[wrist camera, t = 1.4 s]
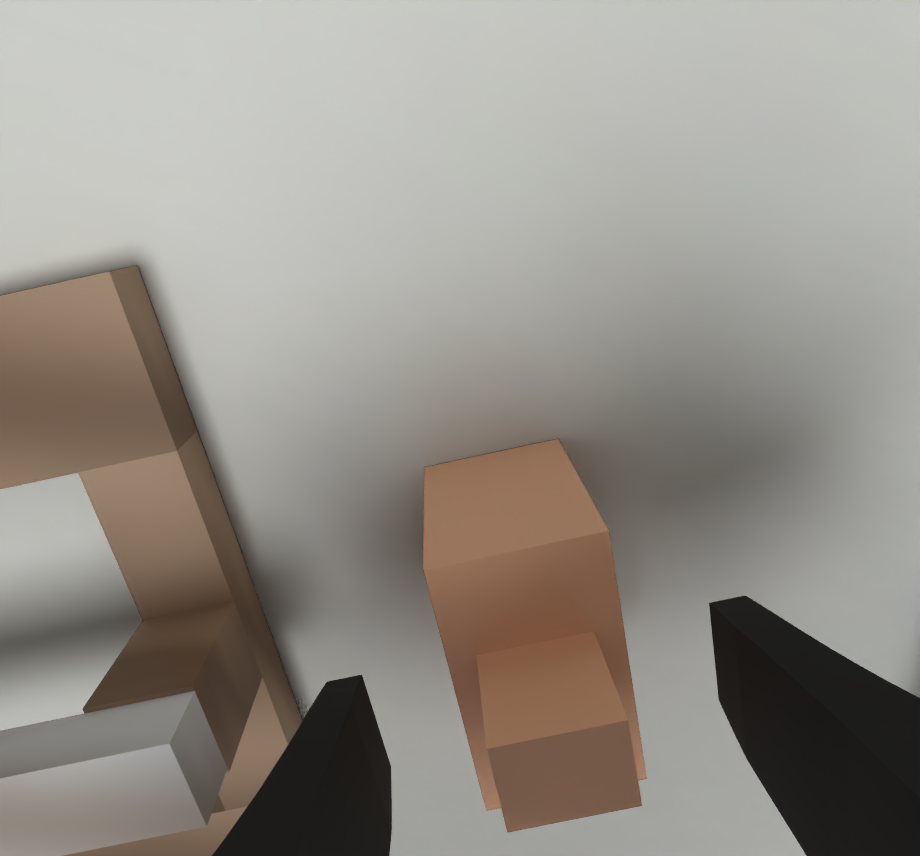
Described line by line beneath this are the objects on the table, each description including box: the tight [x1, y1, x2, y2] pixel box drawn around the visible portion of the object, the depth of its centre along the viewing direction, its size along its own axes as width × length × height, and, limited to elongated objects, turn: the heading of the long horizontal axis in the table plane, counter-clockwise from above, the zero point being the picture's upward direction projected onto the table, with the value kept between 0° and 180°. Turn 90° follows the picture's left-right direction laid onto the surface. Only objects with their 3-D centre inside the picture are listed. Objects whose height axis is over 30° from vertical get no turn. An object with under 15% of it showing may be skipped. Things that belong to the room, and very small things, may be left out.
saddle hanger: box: [423, 439, 647, 832], centre depth 12 cm, size 5×3×6 cm, turn 12°
